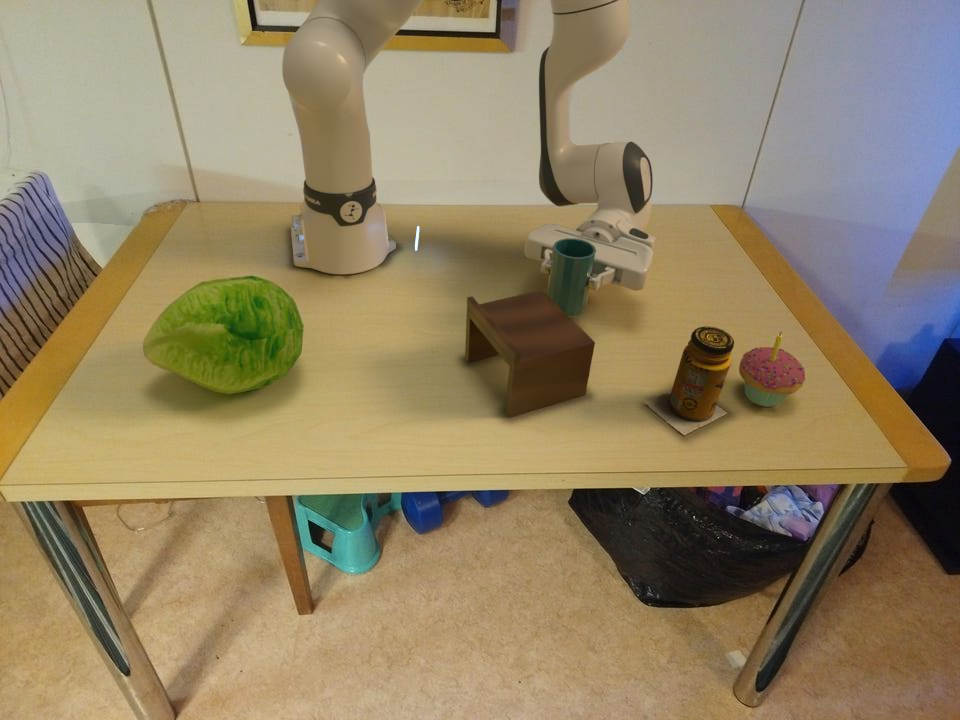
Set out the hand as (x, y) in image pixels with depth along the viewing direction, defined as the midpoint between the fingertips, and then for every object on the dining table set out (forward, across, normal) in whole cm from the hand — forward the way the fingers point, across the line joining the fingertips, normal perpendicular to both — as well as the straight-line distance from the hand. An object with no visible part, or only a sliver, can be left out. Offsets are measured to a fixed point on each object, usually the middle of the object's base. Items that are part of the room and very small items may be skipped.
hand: (568, 277), depth 98 cm
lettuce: (+36, -33, +10) cm, 50 cm away
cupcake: (0, +31, +9) cm, 32 cm away
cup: (-1, 0, +6) cm, 6 cm away
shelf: (+14, 0, +9) cm, 17 cm away
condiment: (+9, +22, +9) cm, 26 cm away
